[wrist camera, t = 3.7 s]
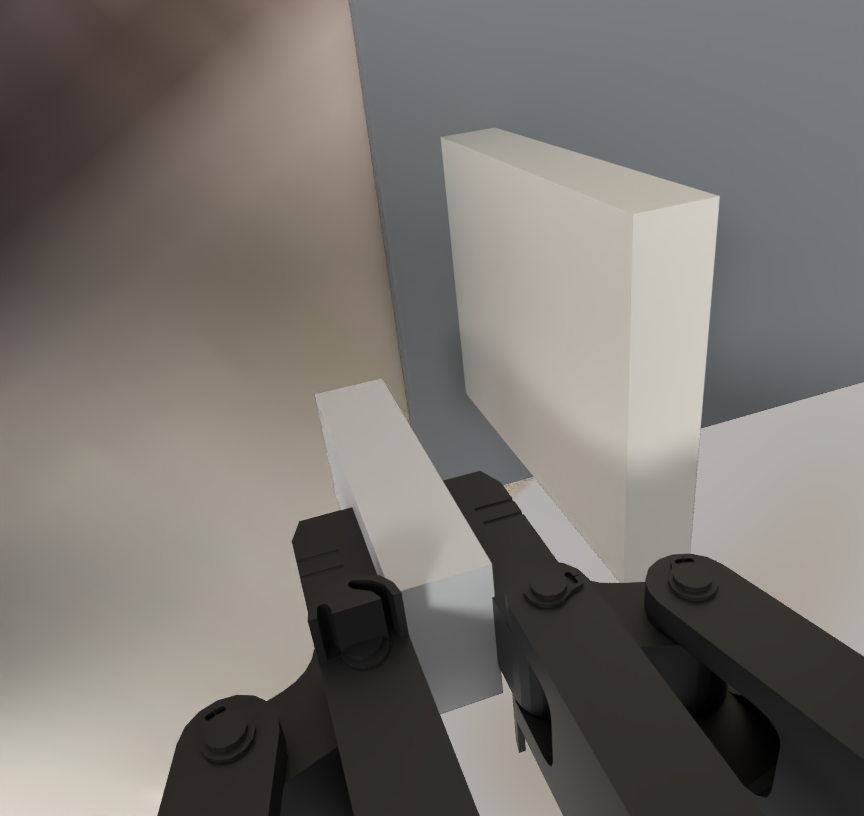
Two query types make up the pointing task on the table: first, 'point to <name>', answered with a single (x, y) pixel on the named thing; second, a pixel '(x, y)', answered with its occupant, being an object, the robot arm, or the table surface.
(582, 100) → the mat
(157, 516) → the table surface
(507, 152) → the tile
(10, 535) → the table surface
